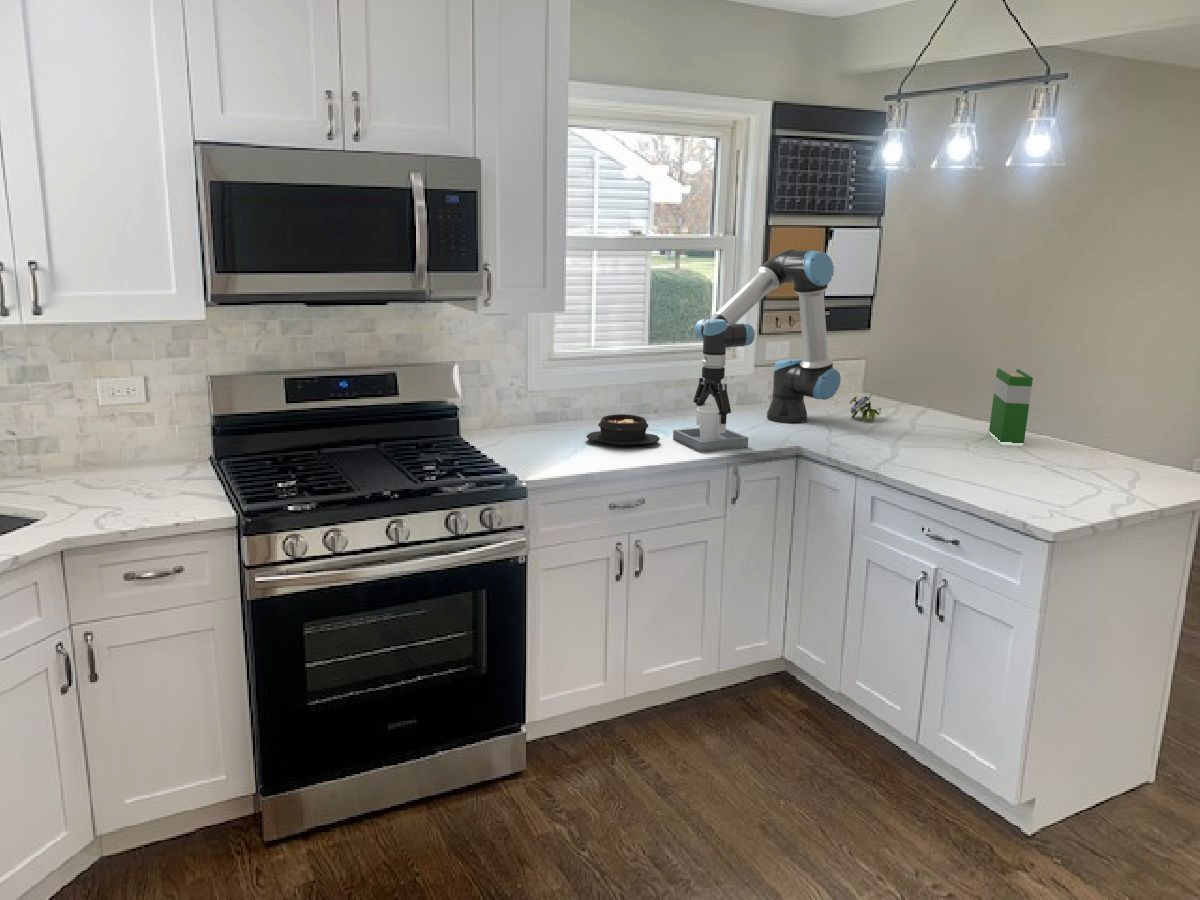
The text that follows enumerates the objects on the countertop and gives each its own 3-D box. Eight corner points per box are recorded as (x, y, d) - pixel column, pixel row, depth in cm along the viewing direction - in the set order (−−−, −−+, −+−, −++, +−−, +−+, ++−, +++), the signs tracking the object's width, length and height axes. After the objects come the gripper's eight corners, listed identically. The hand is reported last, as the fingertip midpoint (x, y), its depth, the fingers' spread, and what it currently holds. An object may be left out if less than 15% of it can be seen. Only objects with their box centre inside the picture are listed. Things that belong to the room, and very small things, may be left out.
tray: (718, 435, 317) (719, 425, 316) (747, 447, 300) (748, 437, 299) (673, 439, 309) (673, 430, 308) (700, 452, 293) (700, 442, 292)
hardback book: (988, 433, 325) (997, 368, 319) (1010, 435, 324) (1019, 369, 318) (1000, 445, 308) (1009, 376, 302) (1023, 446, 307) (1032, 377, 301)
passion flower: (852, 432, 348) (845, 404, 353) (880, 427, 347) (873, 399, 352) (855, 421, 338) (848, 392, 342) (884, 417, 337) (877, 388, 341)
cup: (723, 437, 309) (725, 406, 306) (725, 445, 299) (727, 412, 296) (694, 436, 310) (696, 405, 307) (695, 443, 300) (697, 411, 297)
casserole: (581, 447, 298) (581, 422, 296) (592, 434, 316) (592, 411, 314) (655, 451, 293) (656, 426, 291) (662, 438, 311) (663, 415, 309)
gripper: (685, 361, 308) (682, 421, 313) (723, 373, 286) (720, 437, 291) (704, 360, 311) (701, 420, 316) (743, 371, 289) (740, 435, 294)
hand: (710, 428), depth 303 cm, fingers open, 13 cm apart
